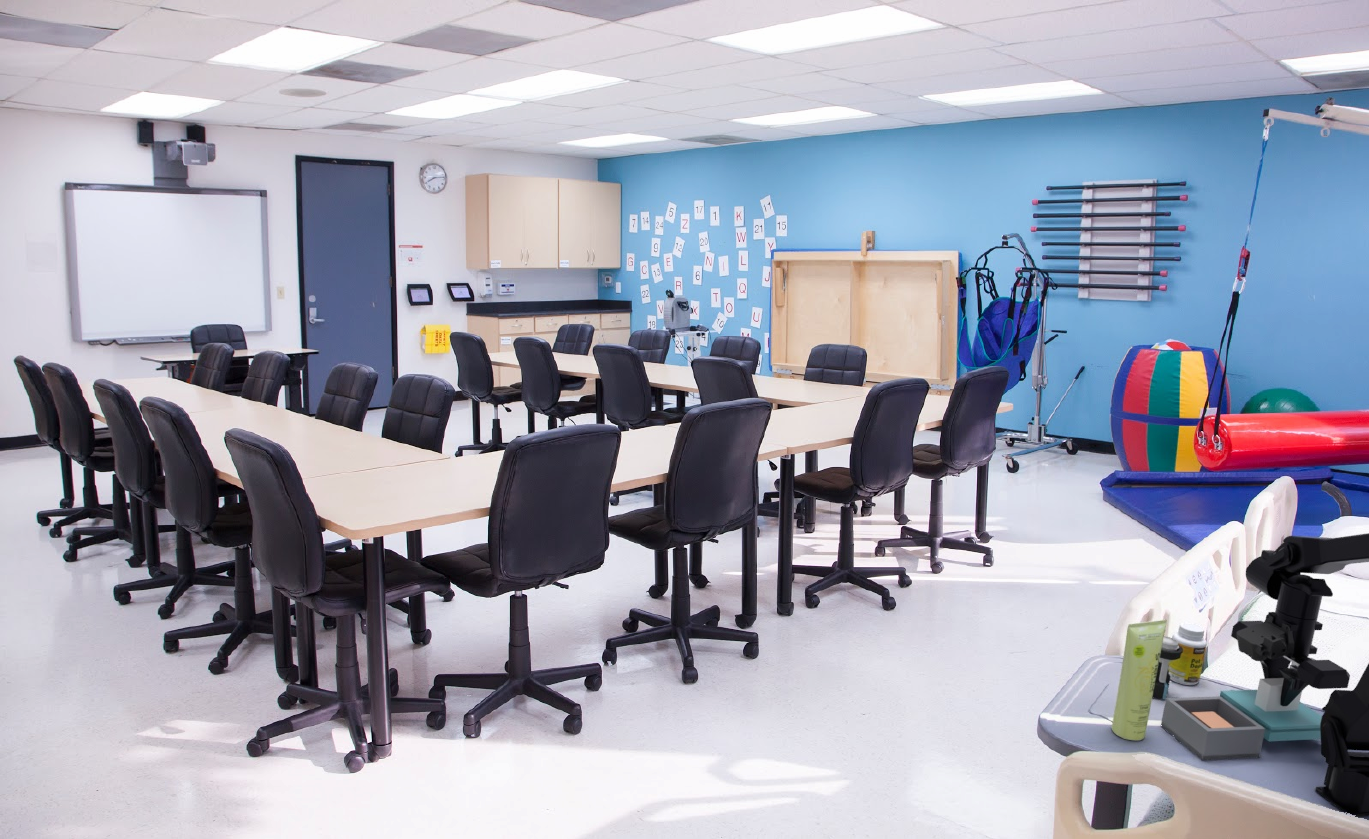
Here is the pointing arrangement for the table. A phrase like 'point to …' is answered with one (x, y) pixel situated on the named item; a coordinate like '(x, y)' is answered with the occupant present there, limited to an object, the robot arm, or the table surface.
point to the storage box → (1212, 728)
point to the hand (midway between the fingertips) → (1277, 701)
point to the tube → (1138, 678)
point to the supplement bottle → (1188, 654)
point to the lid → (1276, 712)
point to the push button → (1165, 666)
